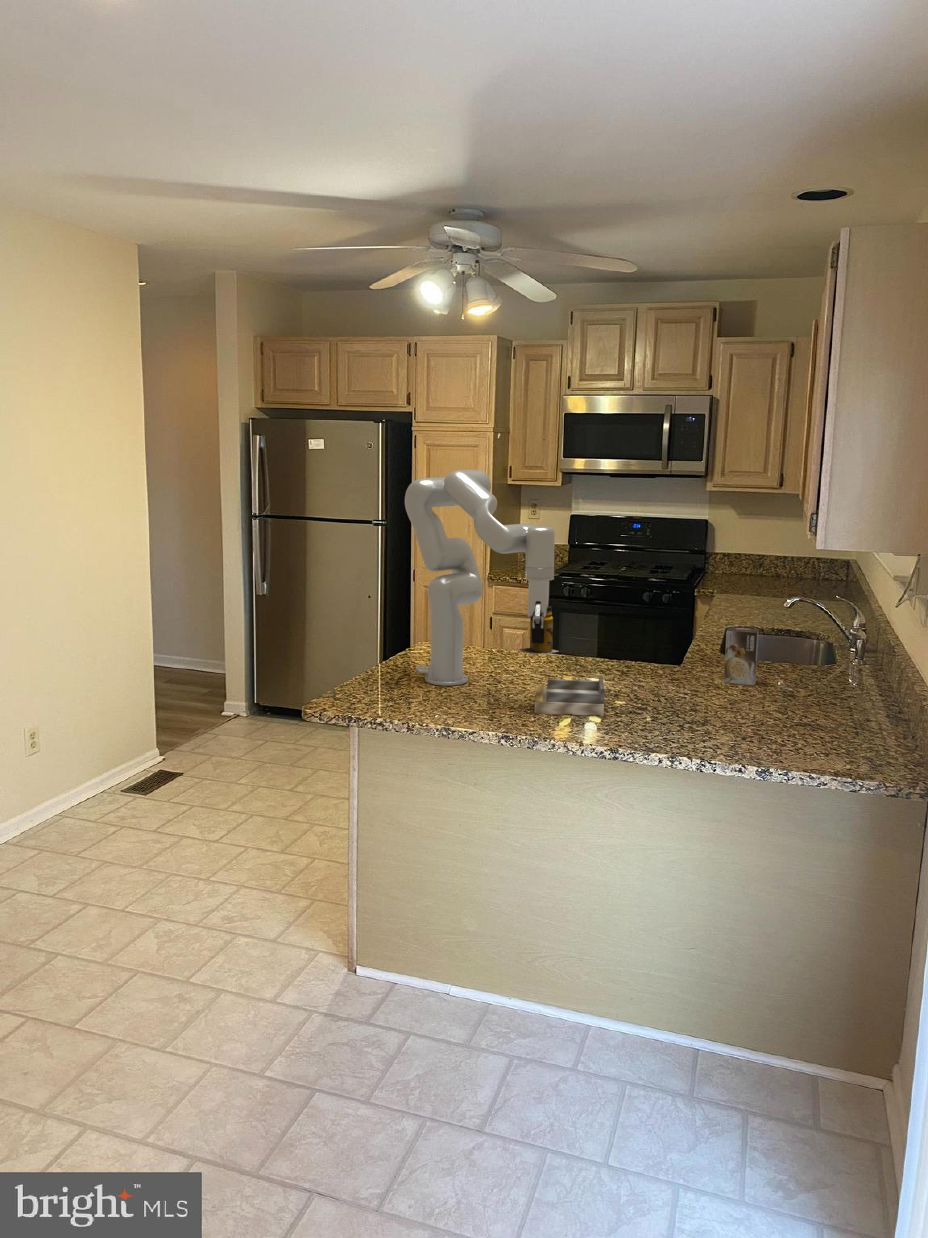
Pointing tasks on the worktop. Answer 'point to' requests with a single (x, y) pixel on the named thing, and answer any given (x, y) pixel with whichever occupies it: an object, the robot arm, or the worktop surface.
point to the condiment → (548, 636)
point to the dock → (570, 697)
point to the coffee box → (741, 656)
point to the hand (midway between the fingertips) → (538, 639)
